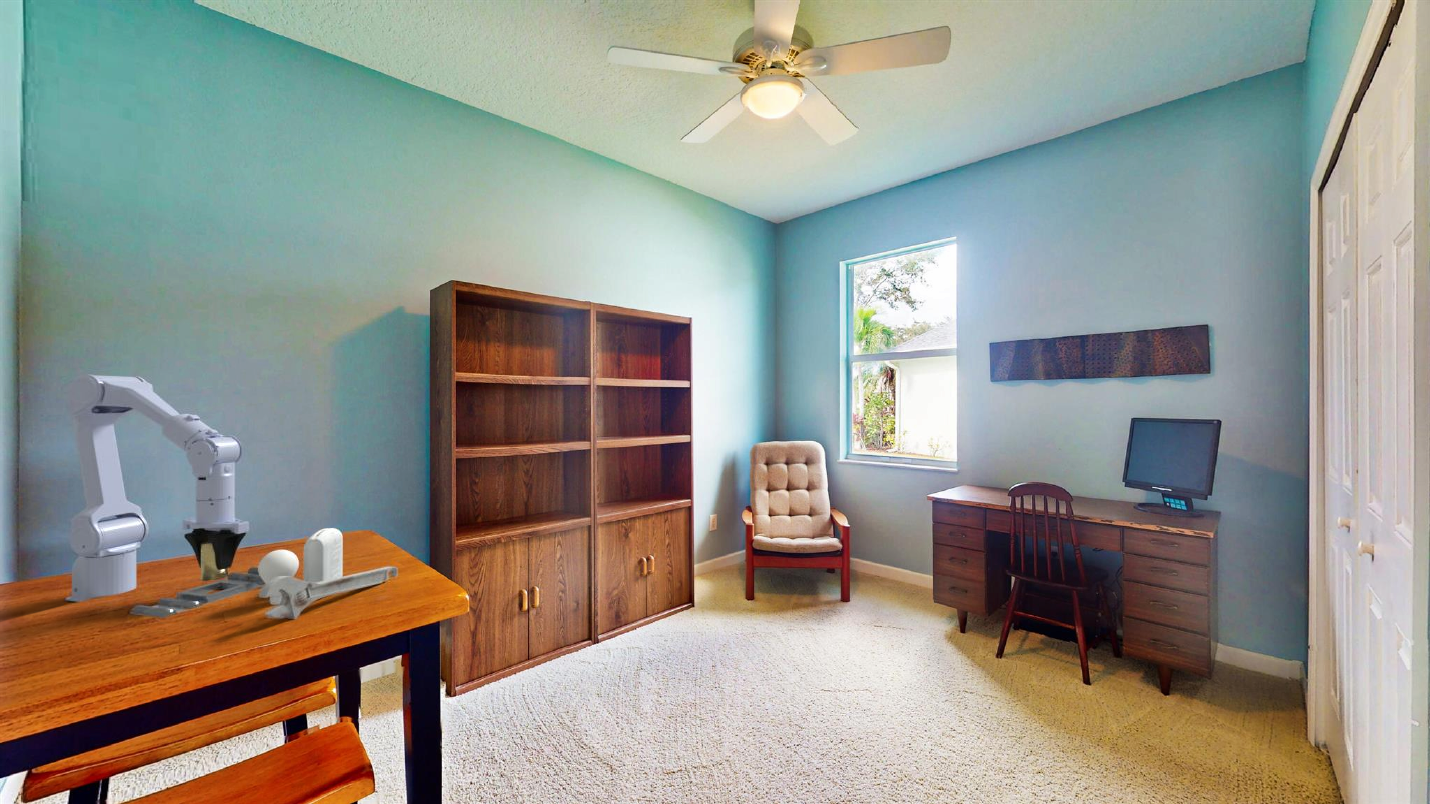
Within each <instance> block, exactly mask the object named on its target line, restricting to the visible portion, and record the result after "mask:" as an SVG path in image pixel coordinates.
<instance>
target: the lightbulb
mask: <svg viewBox="0 0 1430 804" xmlns="http://www.w3.org/2000/svg"><path fill="white" fill-rule="evenodd" d="M299 565H300V561H299V559H298V556H297V555H296V554H295V553H294V552H293V551H291V550H287V549H275V550H273V551H270V552H269V553H267V554H266V555H264V556H263V557H262V558H261V560H260V561H259V563H258V566H257V567H258V572H259V575H260V577H261V578H262V580H263V581H264V582H265V584H266V583H267V582H268V581H270V580H271V579H273V578H275V577H278V576H289V577H293V578H295V575H296V573H297V572H298V569H299ZM281 599H282V594H281V592H279V591H277V592H275V593H274V594H272V595H270V596H269V604H270V605H271V606H272V605H274V606H276V605H279V604H280V602H281Z"/></svg>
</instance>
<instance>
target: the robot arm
mask: <svg viewBox="0 0 1430 804" xmlns="http://www.w3.org/2000/svg"><path fill="white" fill-rule="evenodd" d="M153 387H154V386H153V384H151V383H150V382H147V381H146V380H145V379H144V378H142V377H140V376H138V375H130V376H120V375H97V374H96V375H95V374H94V375H93V374H92V373H91V374H89V373H87V374H86V373H85V374H80V375H77V376H76V377H75V379H74V380H73V381H72V382H71V383H70V384H69V385H68V387H67V388H66V390H65V391H66V394H67V395H66V396H67V402H68V408H69V412H70V414H69V415H70V418H71V419H72V426H73V432H74V437H75V444H76V449H77V455H78V460H79V461H78V462H79V466H80V467H79V469H80V474H81V479H82V486H83V491H84V497H85V502H86V503H85V504H86V507H85V508H84V509H82V510H81V511H79V513H77V514H76V515H75V516H73V517H72V518H71V520H70V524H71V531H70V534H69V538H68V539H69V540H68V541H69V542H68V543H69V545H70V548H71V549H72V550H73V551H74V552H75V553H76V554H78V557H77V558H76V559H75V561H74V562H73V564H72V567H71V596H68V597H65V601H70V602H76V603H79V602H83V601H87V600H91V599H94V598H95V599H96V598H101V597H103V598H104V597H108V596H109V597H110V596H115V595H119V594H123V593H127V592H130V591H133V590H135V589H137V549H138V548H141V543H142V542H143V543H144V541H145V540H146V539H147V537H148V534H149V529H150V528H149V524H148V522H147V520H146V519H145V518H144V516H143V512H142V508H141V507H140V506H139V505H137V504H136V503H135V504H134V503H132V502H131V501H129V500H127V496H126V492H125V491H126V490H125V486H124V485H125V484H124V479H123V472H122V467H121V462H120V456H119V449H118V444H117V438H116V434H115V433H116V432H115V426H114V425H115V423H116V422H118V420H119V419H120V418H123V417H125V416H127V415H129V414H131V413H132V412H133V411H136V412H137V413H139V414H141V415H142V416H144V417H146V418H148V419H149V420H151V421H152V422H154V423H155V424H157V425H159V426H161V427H162V428H161V433H162V436H163V437H164V438H166V439H167V440H169V441H170V442H172V443H173V444H174V445H176V446H177V447H179V448H180V449H181V450H183V451H184V452H186V453H185V455H186V459H187V462H188V463H189V465H190V466H191V469H192V474H193V476H194V477H195V517H191V518H184V519H182V530H192V531H191V532H188V533H184V538H185V540H186V541H187V542H188V543H189V545H190V546H191V547H192V550H193V552H194V555H195V558H196V561H197V563H198V566H199V568H200V569H201V543H203V542H206V541H210V542H211V544H212V546H213V549H214V552H215V561H216V567H217V570H222V569H226V568H228V569H229V568H232V565H233V563H234V559H235V555H236V552H237V551H238V548H239V546H240V544H241V542H242V540H243V539H244V537H246V535H247V533H248V532H250V522H249V521H244V520H242V519H239V518H236V515H235V513H236V511H235V509H236V508H235V504H236V502H235V500H236V499H235V498H236V495H235V493H236V492H235V491H236V488H235V487H236V485H235V482H236V480H235V479H236V477H235V476H236V469H235V468H236V465H235V464H237V463H238V462H239V461H240V460H241V458H243V457H242V456H243V452H244V450H243V445H242V443H241V441H240V440H239V439H238V438H237V437H236V436H234V435H223V434H221V433H220V434H219V431H217V430H216V429H212V427H210V426H208V425H207V424H206V423H204V422H203V421H202V420H200V419H201V417H199V415H197V414H191V413H182V414H180V413H179V412H178V411H177V410H175V408H173V407H172V406H171V405H170V404H169V403H167V402H166V401H165V400H164V399H162V398H161V397H160V396H159V395H158V394H157V393H155V391H154V388H153ZM107 517H114V518H108V519H107ZM103 518H106V519H103Z"/></svg>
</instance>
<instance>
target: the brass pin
mask: <svg viewBox="0 0 1430 804" xmlns="http://www.w3.org/2000/svg"><path fill="white" fill-rule="evenodd" d="M228 575H229V568H226V569H222V570H217V567H216V561H215V552H214V549H213V546H212V544H211V542H210V541H206V542H203V543H201V568H200V580H201V581H203V582H210V581H216V580H218V581H219V580H223V579H226V578H228Z"/></svg>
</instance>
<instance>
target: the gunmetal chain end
mask: <svg viewBox="0 0 1430 804" xmlns="http://www.w3.org/2000/svg"><path fill="white" fill-rule="evenodd" d="M264 585H265V582H264V581H263V580H262V578H261V577H260V575H259V572H258V566H251V567H250V568H249V569H248V571H247V572H245V573H244V572H243V573H242V572H231V573H228V576H227V578H223V579H220V580H218V581H215V582H214V581H213V582H211V583H207V584H204V585H201V586H197V587H196V586H195V587H194V588H193V587H192V588H189V589H185V590H182V591H179V592H176V599H180V600H187V601H195V602H203V603H208V604H210V602H211V603H214V602H217V601H221V600H223V598H224V599H226V597H227V598H230V597H234V596H236V594H237V595H239V593H240V594H242V592H243V593H246V592H249V591H252V590H256V589H260V588H262V587H263V586H264ZM220 588H222V590H220ZM216 589H217V590H220V591H217V590H216ZM213 590H214V591H216V592H213ZM209 591H210V592H213V593H210V592H209ZM245 591H246V592H245ZM206 592H207V593H206ZM229 596H230V597H229ZM220 599H221V600H220ZM216 600H217V601H216ZM213 601H214V602H213Z"/></svg>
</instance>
